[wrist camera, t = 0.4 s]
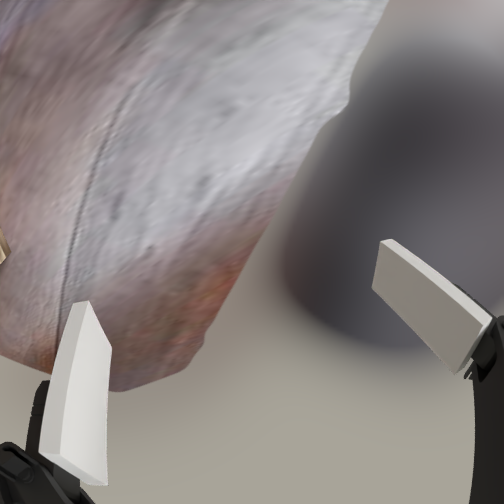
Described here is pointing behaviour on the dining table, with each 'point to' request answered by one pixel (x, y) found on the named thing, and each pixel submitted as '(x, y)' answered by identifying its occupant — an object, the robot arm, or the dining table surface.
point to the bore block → (3, 247)
